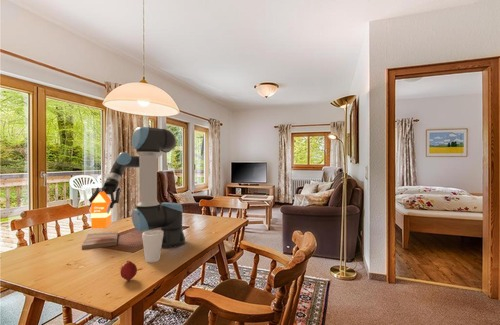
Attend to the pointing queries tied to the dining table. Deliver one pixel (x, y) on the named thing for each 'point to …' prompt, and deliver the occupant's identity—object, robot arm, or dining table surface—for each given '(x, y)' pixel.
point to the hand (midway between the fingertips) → (98, 212)
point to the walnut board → (100, 240)
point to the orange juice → (100, 211)
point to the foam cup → (152, 244)
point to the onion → (128, 270)
